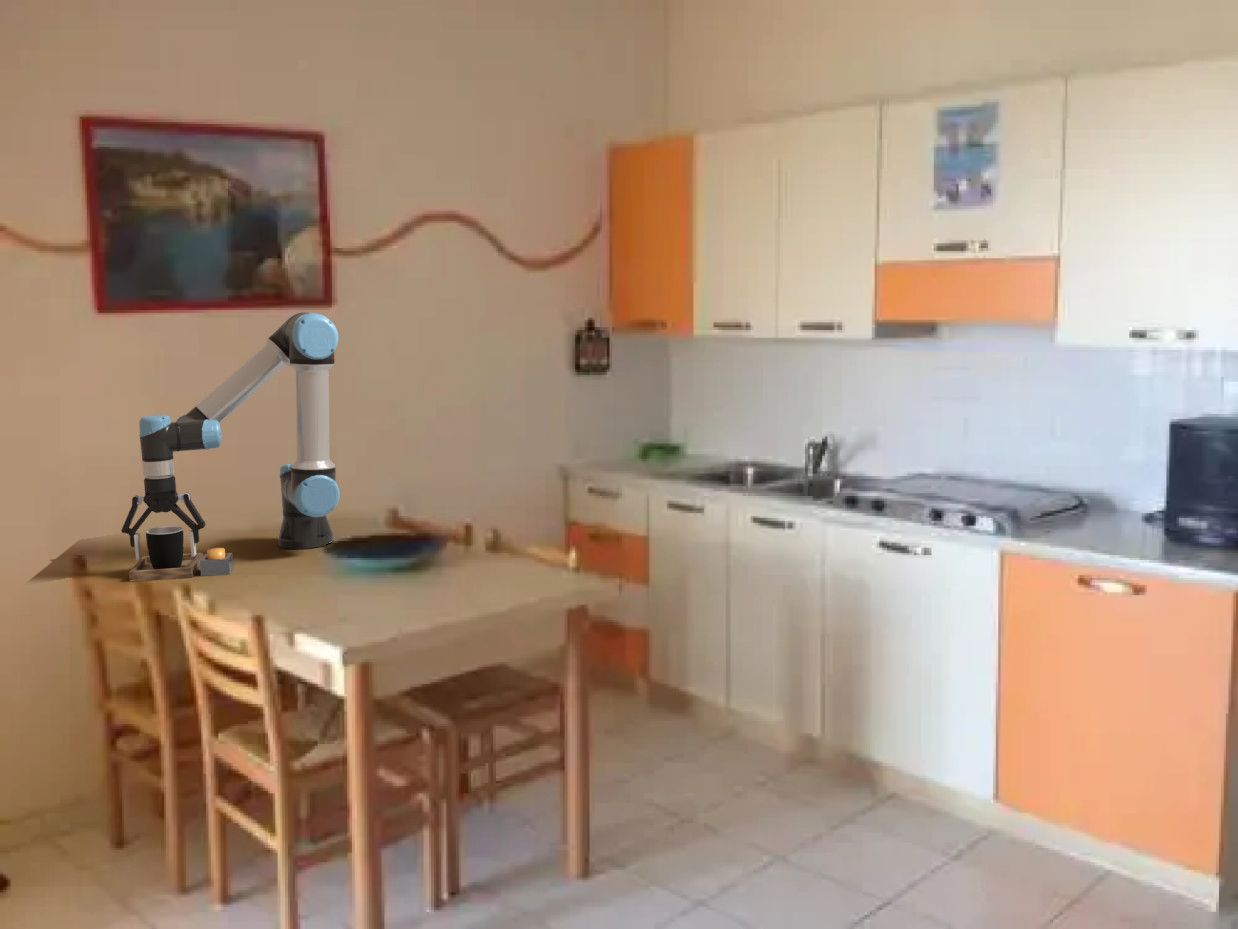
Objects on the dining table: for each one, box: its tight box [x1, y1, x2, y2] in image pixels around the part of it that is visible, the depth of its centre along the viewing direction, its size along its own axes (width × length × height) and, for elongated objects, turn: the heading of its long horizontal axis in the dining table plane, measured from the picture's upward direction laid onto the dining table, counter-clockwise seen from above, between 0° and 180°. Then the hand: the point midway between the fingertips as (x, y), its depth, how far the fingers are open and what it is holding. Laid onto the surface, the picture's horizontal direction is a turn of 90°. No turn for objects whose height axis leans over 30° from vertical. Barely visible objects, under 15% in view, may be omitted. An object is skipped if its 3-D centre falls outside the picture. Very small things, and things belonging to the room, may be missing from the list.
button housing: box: [199, 552, 234, 577], centre depth 310 cm, size 7×7×4 cm
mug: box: [145, 525, 184, 569], centre depth 311 cm, size 12×9×10 cm
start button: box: [206, 547, 226, 559], centre depth 310 cm, size 4×4×5 cm
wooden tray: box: [128, 552, 204, 582], centre depth 312 cm, size 15×17×2 cm
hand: (166, 557), depth 312 cm, fingers open, 13 cm apart
